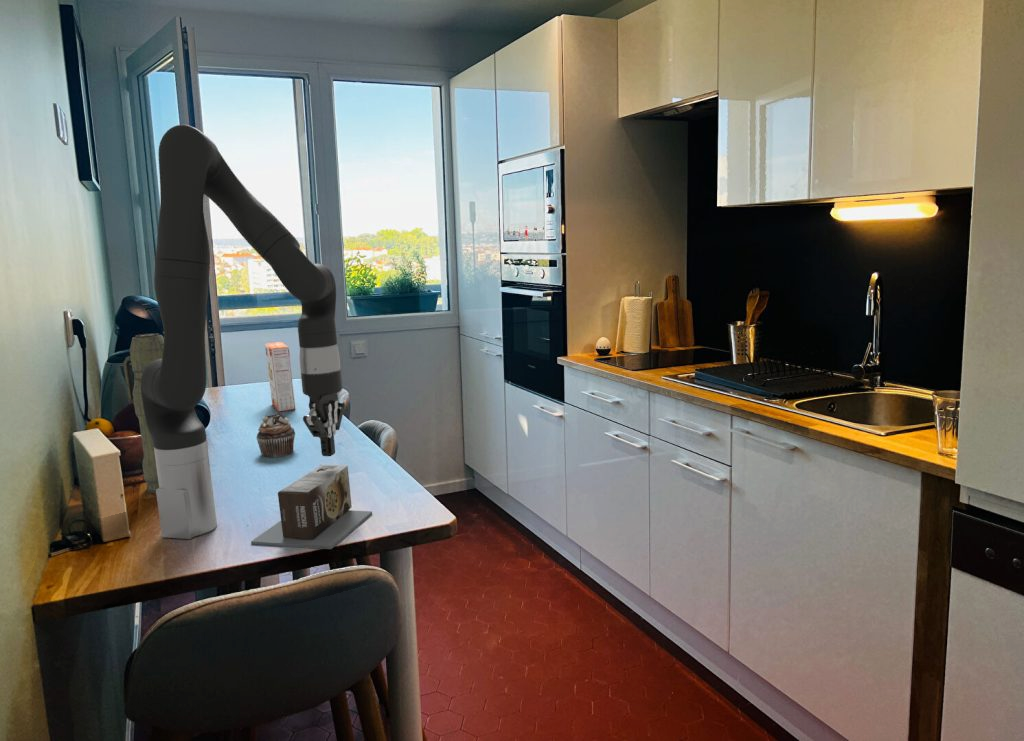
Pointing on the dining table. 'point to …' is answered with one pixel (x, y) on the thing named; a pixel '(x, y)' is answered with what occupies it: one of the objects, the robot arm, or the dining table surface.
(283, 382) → the cracker box
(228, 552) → the dining table surface
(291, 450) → the cupcake
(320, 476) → the coffee box
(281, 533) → the mat
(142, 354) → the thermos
